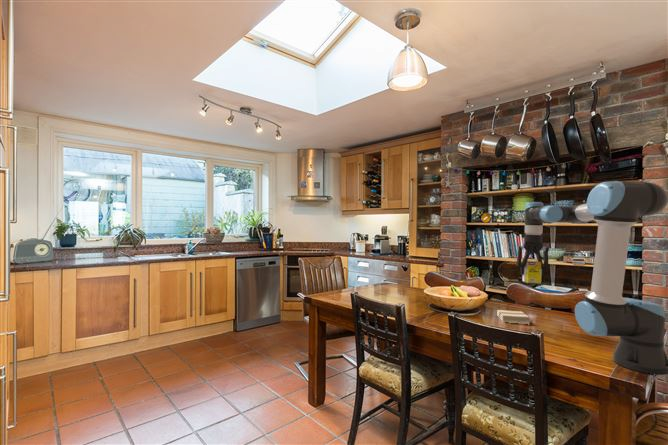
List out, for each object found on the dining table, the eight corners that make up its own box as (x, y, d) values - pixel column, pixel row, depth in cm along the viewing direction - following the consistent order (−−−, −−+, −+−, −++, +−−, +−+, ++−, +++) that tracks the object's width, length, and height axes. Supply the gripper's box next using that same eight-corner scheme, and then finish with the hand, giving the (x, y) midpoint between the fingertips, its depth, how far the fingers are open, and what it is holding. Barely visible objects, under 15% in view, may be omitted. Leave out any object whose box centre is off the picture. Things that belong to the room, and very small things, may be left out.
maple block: (529, 325, 168) (529, 317, 168) (503, 323, 170) (503, 315, 170) (521, 318, 179) (521, 311, 179) (496, 317, 182) (497, 309, 182)
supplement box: (540, 285, 162) (541, 262, 162) (527, 284, 163) (527, 261, 163) (536, 282, 168) (537, 260, 168) (522, 282, 169) (523, 260, 169)
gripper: (552, 234, 167) (550, 281, 167) (509, 233, 171) (508, 279, 171) (558, 235, 159) (556, 284, 160) (514, 233, 163) (512, 282, 164)
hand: (531, 281), depth 165 cm, fingers closed on supplement box, 6 cm apart
